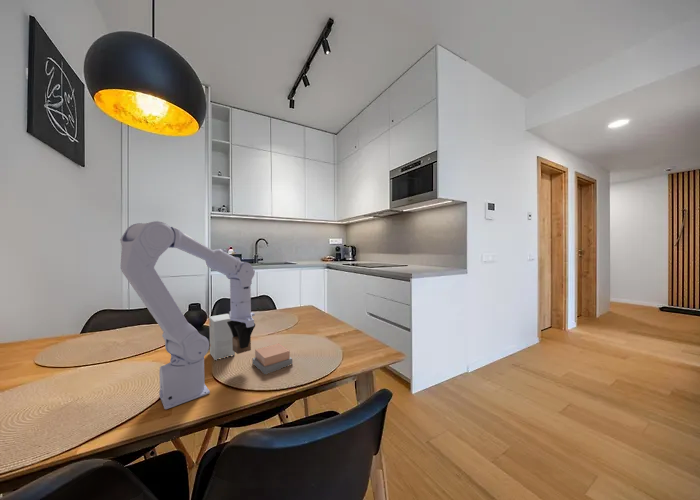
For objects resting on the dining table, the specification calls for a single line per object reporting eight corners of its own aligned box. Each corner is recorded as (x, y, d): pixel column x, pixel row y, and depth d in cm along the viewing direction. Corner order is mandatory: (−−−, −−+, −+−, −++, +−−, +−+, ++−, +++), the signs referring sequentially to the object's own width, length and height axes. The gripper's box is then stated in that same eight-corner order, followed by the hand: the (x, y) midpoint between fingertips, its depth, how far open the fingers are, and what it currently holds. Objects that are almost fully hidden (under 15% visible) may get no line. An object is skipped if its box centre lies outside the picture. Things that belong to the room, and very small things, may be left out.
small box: (235, 355, 88) (234, 317, 88) (214, 361, 84) (213, 321, 84) (228, 348, 94) (228, 313, 94) (209, 353, 90) (208, 316, 90)
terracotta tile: (264, 366, 76) (264, 358, 76) (255, 357, 82) (255, 349, 82) (289, 358, 81) (289, 350, 81) (279, 350, 87) (279, 343, 87)
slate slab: (265, 376, 75) (265, 368, 75) (252, 366, 82) (252, 358, 81) (292, 366, 81) (292, 358, 81) (278, 357, 88) (278, 350, 88)
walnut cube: (237, 354, 76) (237, 340, 76) (232, 350, 79) (232, 337, 79) (250, 350, 79) (250, 337, 79) (245, 346, 82) (245, 333, 81)
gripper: (263, 302, 76) (264, 348, 76) (244, 295, 86) (245, 335, 87) (239, 306, 71) (240, 355, 71) (222, 298, 81) (222, 341, 82)
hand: (241, 345), depth 79 cm, fingers closed on walnut cube, 4 cm apart
